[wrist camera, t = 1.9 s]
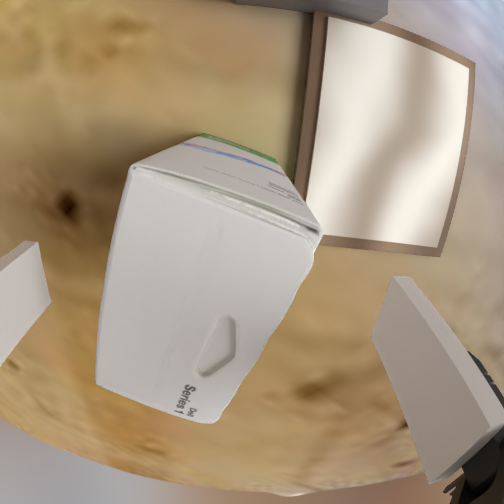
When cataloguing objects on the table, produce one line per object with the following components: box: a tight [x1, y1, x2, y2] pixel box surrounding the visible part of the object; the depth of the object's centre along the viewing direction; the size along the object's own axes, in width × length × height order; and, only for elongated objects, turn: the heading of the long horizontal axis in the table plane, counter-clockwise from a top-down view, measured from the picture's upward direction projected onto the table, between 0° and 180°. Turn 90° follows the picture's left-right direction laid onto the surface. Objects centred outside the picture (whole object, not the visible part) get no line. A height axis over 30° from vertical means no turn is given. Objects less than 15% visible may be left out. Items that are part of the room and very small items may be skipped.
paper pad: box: [293, 11, 475, 257], centre depth 16 cm, size 12×15×1 cm
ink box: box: [95, 134, 323, 423], centre depth 13 cm, size 8×5×12 cm, turn 158°
